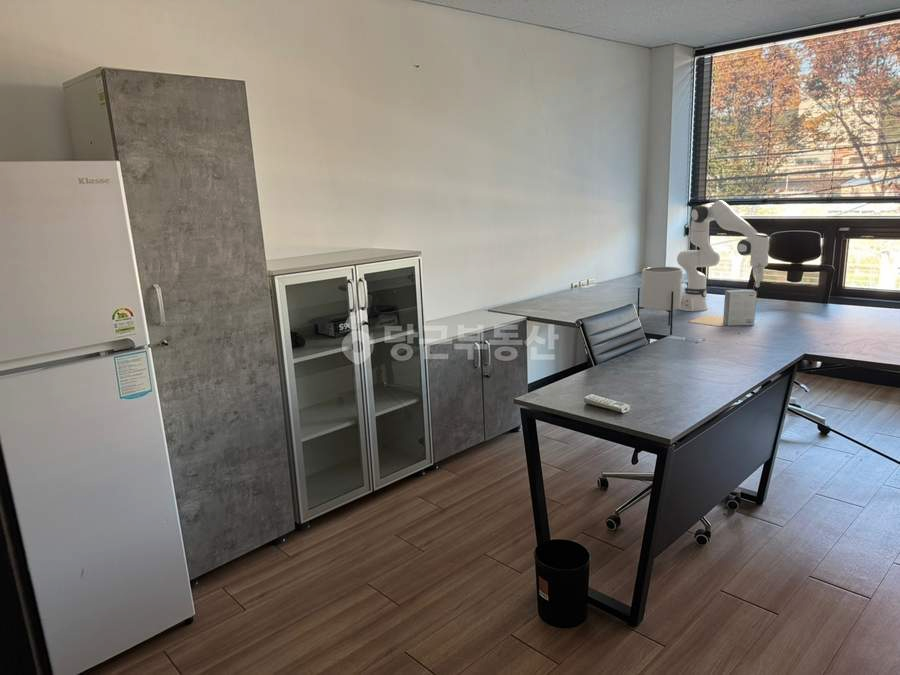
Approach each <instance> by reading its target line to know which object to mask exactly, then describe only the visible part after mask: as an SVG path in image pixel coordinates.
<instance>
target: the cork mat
mask: <svg viewBox="0 0 900 675" xmlns="http://www.w3.org/2000/svg"><path fill="white" fill-rule="evenodd" d="M723 317H724V316H723ZM723 317H722V316H716V315H715V316H714V315H709V314H706V315H703V316H701V317H697V318H694V319H692V320H690V321H688V323H690V322H691V323H692V324H697V325H698V324H699V325H706V326H713V327H720V328H722V327H724V326H727V325H726V324H724V323H723Z"/></svg>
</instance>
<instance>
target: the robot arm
mask: <svg viewBox="0 0 900 675" xmlns="http://www.w3.org/2000/svg"><path fill="white" fill-rule="evenodd" d="M690 218H691V223H690V230H689V231H690V232H689V233H690V234H689V237H690V238H689V240H690V243H691V244H692V245H694V246H696V247H698V248H699V249H689V250H683V251H680V252H679V253H678V255H677V258H676V261H677V264H678V266H680V268H681V269H682V270H684V271H685V273H686V275H687V287H685V288H684V289H683V291H684V293H682V294H681V307H680V308H678V309H677V310H681V311H685V312H686V311H687V312H701V311H706V310H708V304H707V276H706V275H705V274H704V273H703V272H701V271H699V270H697V268H711V267H715V266H716V267H717V265H718V264H719V263H720V258H721V257H720V253H719V251H717V250H715V249H714V248H713V246H712V245H711V243H710V223H711V221H715V222H716V223H717V224H718V226H719V227H720V228H721V229H723V230H725V231H730V232H731V231H732V232H737V233H740V234H742V235H744V236H745V238H744V239H740V240H739V242H738V243H737V246H736V247H737V248H736V249H737V252H738V254H739V255H740V256H744V257H745V256H746V257H747V256H750V259H749V261H750V263H749V265H750V267H752V276H753V278H754V280H755V288H760V284H761V282H763V281H764V270H765V268H766V267H768V264H769V255H768V254H769V250H770V247H771V243H770V238H769V235H768V234H766V233H762V232H758V231H757V230H756V228H754V227H753V226H752V225H751V224H750V223H749V222H748V221H747V220H745V219H743V218H742V217H741V216H740V215H739V214H737V213H736V212H735V210H734V209H733V208H732V207H731V206H730V205H729V204H728V203H727V202H725V201H724V200H720V199H719V200H716V201H714V202H708V203H704V204H701V205H699V204H698V205H696V206H694V207H693V208H692V209H691V211H690Z"/></svg>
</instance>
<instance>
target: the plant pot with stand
mask: <svg viewBox="0 0 900 675" xmlns="http://www.w3.org/2000/svg"><path fill="white" fill-rule="evenodd" d="M682 284H683V268H682V267H676V266H651V267H650V266H649V267H644V268H642V271H641V289H640V287H638V288H637V315H638V317H639V318H640V310H641V309H642V310H644V309H645V310H650V311H654V312H655V311H657V312H668V318H667V319H668V322H667V323H668V324H667V326H669V327H670V328H669V329H670V330H669V335H673V317H674V316H673V315H674V314H673V312H674V310H679V309H678V308H680V307H681V295H682V286H683V285H682ZM640 291H641V293H640ZM640 294H641V306H640Z"/></svg>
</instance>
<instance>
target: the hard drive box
mask: <svg viewBox="0 0 900 675" xmlns="http://www.w3.org/2000/svg"><path fill="white" fill-rule="evenodd" d="M757 294H758V292H757V291H756V290H754V289H730V290H729V289H728V290H727V289H726V290H725V291H724V304H723V307H724V308H723V323H724V324H726V325H725V326H727V327H728V326H754V325H755V318H756V307H757V306H756V305H757V296H758V295H757Z"/></svg>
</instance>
